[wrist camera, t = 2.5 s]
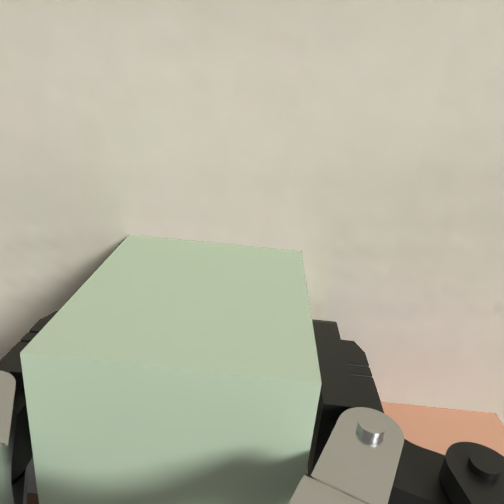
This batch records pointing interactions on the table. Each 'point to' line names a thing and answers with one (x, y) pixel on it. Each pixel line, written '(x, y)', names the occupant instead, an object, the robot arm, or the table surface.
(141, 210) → the table surface
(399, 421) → the brick terracotta
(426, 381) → the table surface
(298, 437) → the brick sage
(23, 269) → the table surface
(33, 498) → the brick walnut
